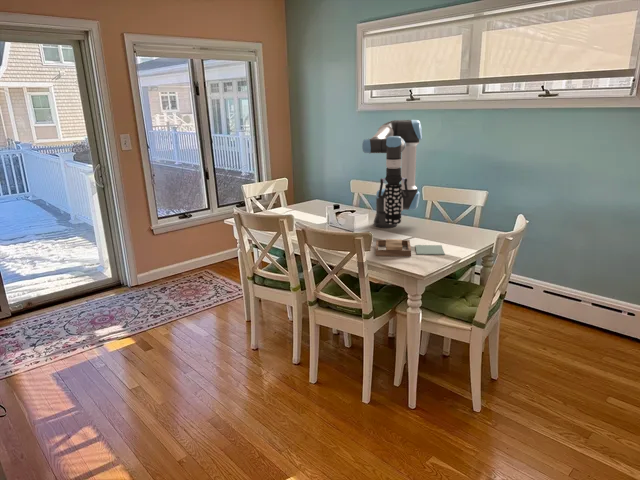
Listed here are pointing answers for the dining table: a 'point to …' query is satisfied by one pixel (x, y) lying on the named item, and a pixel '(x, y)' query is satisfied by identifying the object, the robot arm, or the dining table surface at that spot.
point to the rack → (393, 252)
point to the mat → (429, 250)
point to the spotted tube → (393, 204)
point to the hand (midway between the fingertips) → (393, 210)
